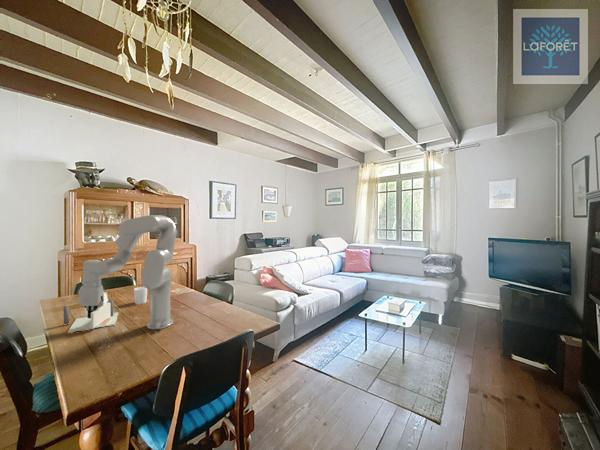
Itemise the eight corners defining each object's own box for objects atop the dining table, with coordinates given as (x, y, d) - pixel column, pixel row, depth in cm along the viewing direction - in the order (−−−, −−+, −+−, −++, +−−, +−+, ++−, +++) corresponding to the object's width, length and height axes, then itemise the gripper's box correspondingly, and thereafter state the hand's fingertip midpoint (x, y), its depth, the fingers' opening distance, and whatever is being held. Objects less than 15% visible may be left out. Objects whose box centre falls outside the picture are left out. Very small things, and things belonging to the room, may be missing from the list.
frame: (114, 325, 130) (114, 307, 130) (55, 336, 118) (55, 316, 118) (118, 313, 146) (118, 297, 146) (66, 322, 134) (66, 304, 134)
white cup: (150, 301, 169) (150, 286, 169) (141, 305, 162) (141, 290, 161) (139, 300, 170) (139, 286, 170) (130, 304, 162) (130, 289, 162)
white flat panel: (108, 316, 139) (108, 302, 138) (110, 316, 139) (110, 302, 139) (90, 328, 123) (90, 313, 123) (93, 328, 124) (93, 313, 123)
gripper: (71, 284, 124) (70, 320, 125) (101, 285, 125) (100, 320, 125) (83, 281, 132) (83, 314, 132) (111, 281, 132) (111, 314, 133)
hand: (91, 317), depth 129 cm, fingers closed
